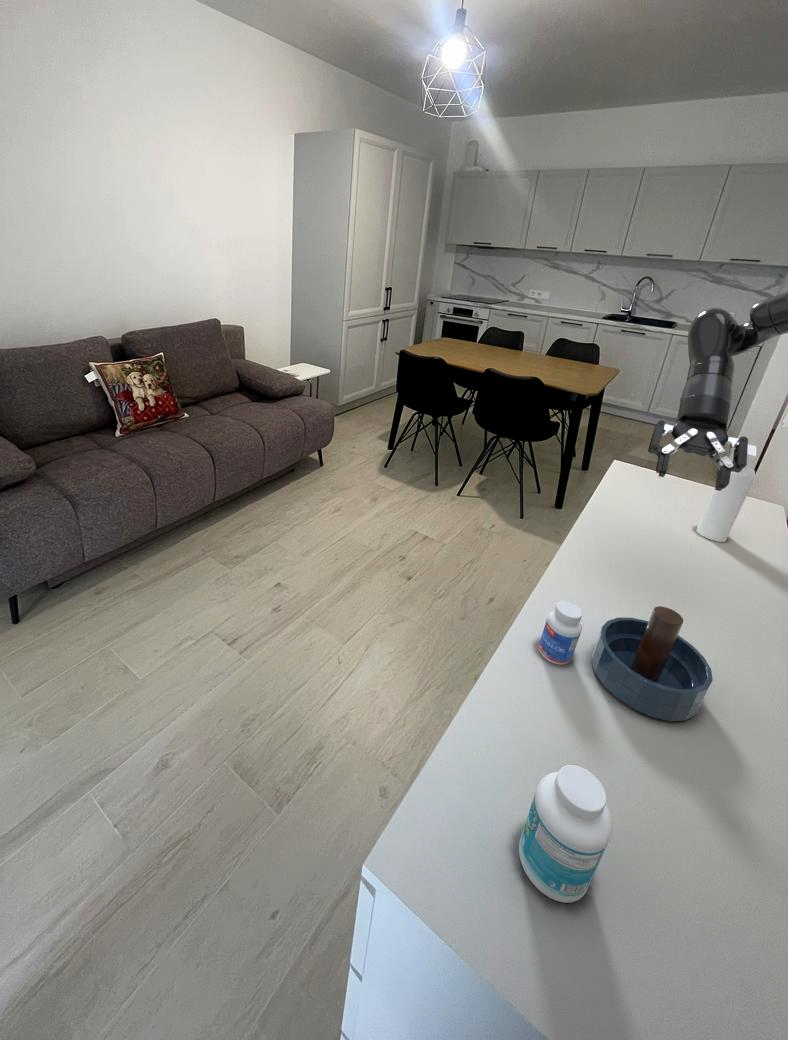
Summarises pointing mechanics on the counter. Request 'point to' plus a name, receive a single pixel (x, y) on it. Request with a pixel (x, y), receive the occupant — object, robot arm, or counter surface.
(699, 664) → the bowl
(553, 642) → the pill bottle
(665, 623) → the brown wooden dowel
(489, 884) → the counter surface
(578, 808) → the pill bottle
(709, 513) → the white spray bottle
